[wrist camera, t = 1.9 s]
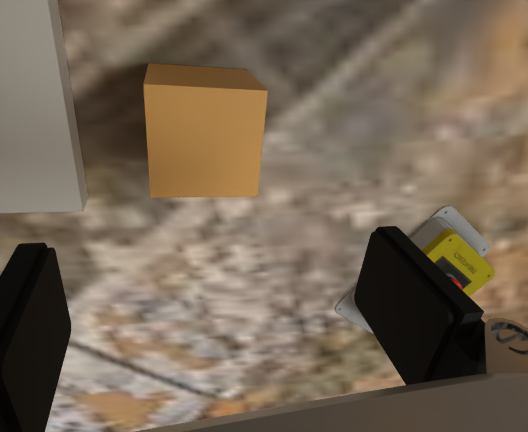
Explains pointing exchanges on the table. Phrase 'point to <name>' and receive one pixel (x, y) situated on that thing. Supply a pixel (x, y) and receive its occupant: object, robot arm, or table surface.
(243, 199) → the table surface
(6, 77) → the board
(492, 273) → the emergency button
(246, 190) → the tan wooden cube
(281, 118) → the table surface
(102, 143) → the table surface
